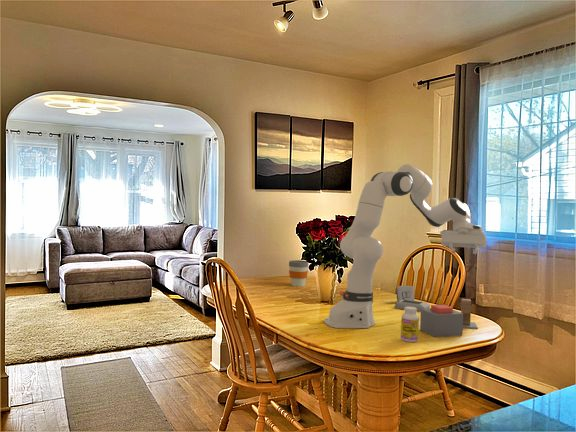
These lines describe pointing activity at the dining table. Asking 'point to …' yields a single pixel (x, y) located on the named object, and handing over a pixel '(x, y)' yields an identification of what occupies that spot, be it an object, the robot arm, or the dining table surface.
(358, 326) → the robot arm
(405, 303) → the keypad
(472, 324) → the pad
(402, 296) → the electrical switch
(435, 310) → the button
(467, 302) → the brown wooden block
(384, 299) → the dining table surface
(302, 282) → the reusable coffee cup
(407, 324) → the supplement bottle
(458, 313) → the gray socket block
